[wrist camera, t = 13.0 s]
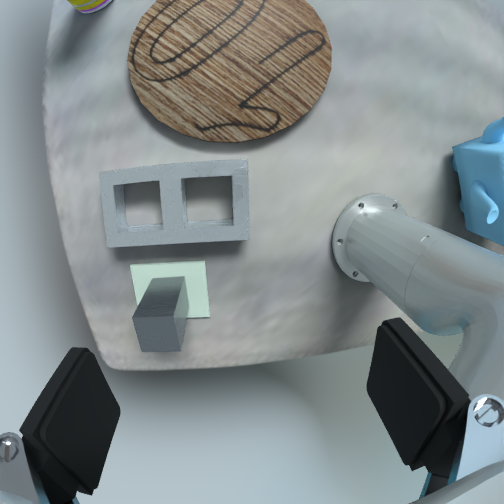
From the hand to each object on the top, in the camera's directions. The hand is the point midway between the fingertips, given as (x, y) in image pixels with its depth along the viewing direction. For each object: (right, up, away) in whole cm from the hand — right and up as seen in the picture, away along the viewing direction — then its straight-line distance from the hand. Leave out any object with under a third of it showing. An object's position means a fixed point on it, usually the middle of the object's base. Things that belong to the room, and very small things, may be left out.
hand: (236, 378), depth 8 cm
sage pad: (-10, -1, +29) cm, 31 cm away
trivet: (-2, +29, +21) cm, 36 cm away
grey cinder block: (-9, +10, +26) cm, 29 cm away
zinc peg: (-10, -1, +29) cm, 30 cm away
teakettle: (+38, +17, +28) cm, 51 cm away
